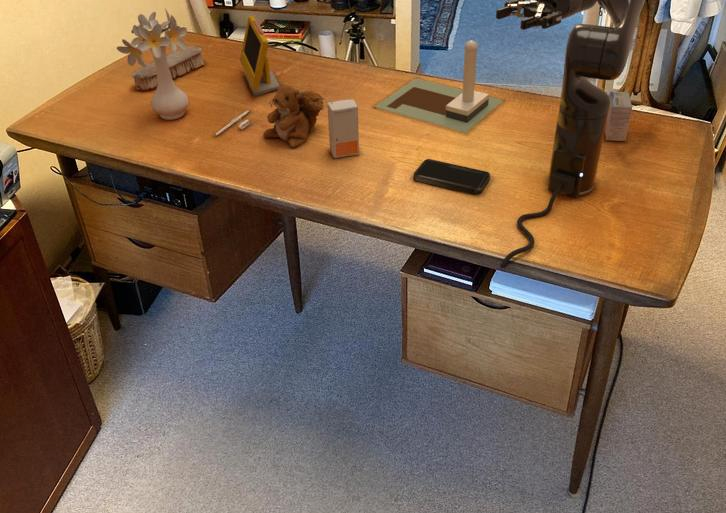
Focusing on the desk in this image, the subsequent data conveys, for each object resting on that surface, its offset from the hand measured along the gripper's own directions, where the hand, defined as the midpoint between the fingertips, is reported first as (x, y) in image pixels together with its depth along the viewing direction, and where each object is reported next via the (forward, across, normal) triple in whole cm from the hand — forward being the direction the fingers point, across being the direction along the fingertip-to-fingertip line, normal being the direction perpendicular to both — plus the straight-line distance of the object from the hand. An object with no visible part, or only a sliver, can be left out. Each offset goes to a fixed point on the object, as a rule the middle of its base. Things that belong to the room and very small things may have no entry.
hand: (509, 20), depth 166 cm
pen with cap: (+61, -28, +19) cm, 69 cm away
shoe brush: (+64, -66, +19) cm, 94 cm away
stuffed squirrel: (+51, -15, +19) cm, 57 cm away
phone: (+34, +22, +19) cm, 45 cm away
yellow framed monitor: (+45, -46, +20) cm, 67 cm away
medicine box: (-8, +28, +21) cm, 36 cm away
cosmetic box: (+47, -1, +19) cm, 50 cm away
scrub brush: (+12, 0, +20) cm, 23 cm away
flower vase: (+72, -42, +19) cm, 86 cm away
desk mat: (+15, -7, +20) cm, 26 cm away
